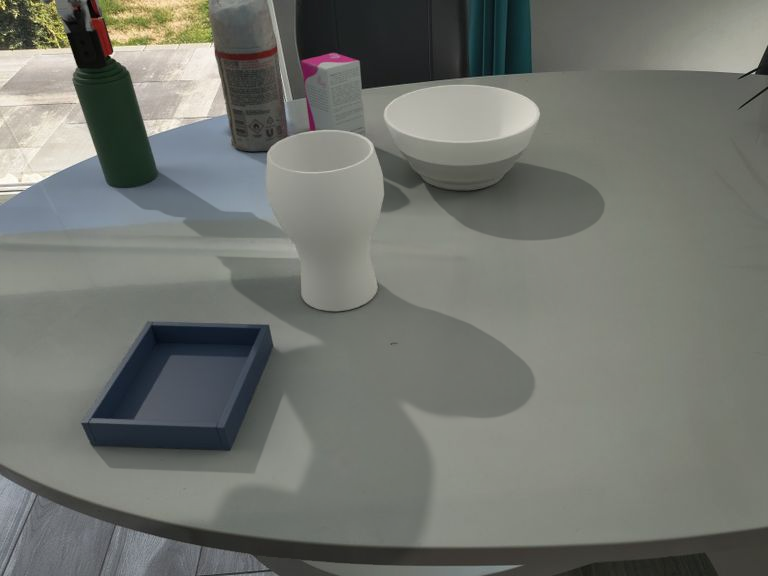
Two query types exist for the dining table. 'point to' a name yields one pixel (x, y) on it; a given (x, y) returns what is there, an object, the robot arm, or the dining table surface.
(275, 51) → the spray can
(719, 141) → the dining table surface
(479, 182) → the bowl
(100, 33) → the cap
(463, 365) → the dining table surface
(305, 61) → the supplement box
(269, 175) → the cup
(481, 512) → the dining table surface
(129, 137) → the sauce bottle
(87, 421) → the tray
